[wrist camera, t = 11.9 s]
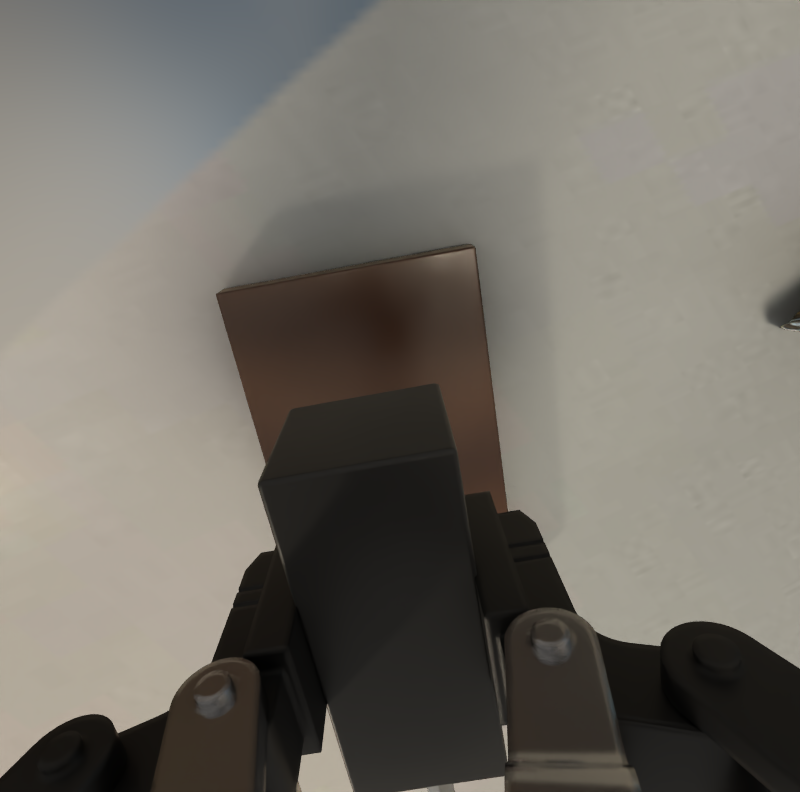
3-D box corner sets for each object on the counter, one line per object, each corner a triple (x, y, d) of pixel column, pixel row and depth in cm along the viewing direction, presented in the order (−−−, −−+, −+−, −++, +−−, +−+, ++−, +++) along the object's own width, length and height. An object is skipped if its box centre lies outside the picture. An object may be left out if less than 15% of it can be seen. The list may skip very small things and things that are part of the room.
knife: (288, 407, 11) (255, 483, 8) (438, 380, 11) (457, 448, 8) (422, 895, 16) (429, 1040, 14) (521, 881, 16) (550, 1025, 13)
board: (222, 288, 24) (214, 293, 23) (471, 243, 24) (475, 246, 22) (316, 610, 30) (313, 626, 29) (513, 579, 30) (518, 594, 29)
